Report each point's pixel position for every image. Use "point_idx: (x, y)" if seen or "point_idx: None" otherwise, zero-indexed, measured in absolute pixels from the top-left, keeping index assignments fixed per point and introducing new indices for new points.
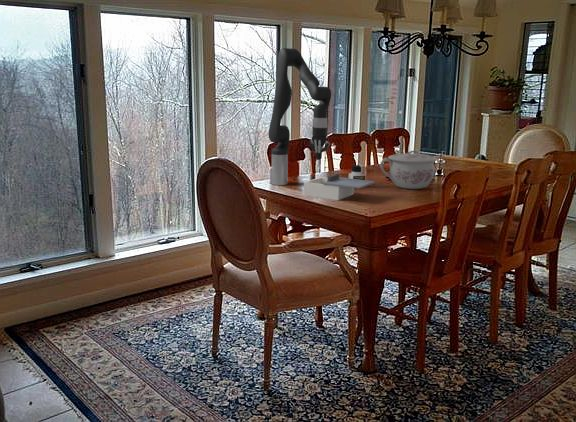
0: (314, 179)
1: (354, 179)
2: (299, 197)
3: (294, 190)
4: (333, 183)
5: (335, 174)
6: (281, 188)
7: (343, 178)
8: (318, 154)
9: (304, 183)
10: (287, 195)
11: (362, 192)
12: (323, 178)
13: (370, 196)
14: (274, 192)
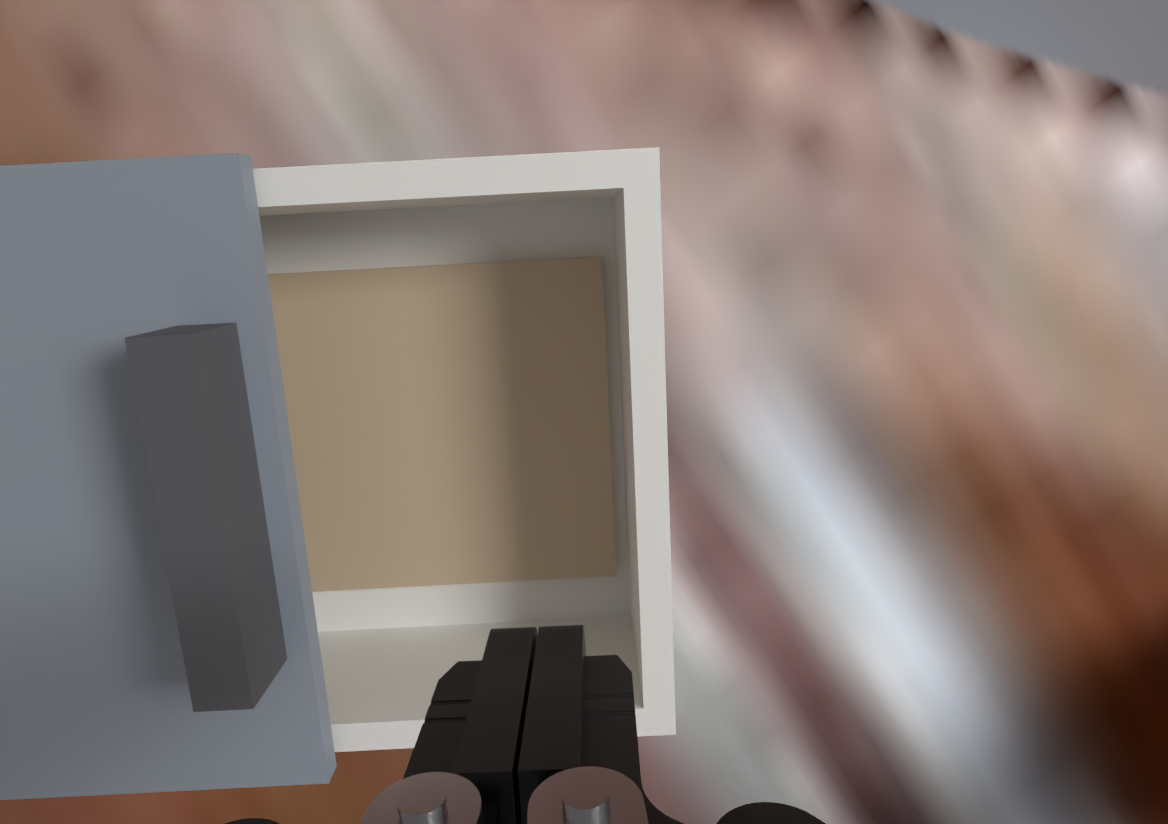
0: (653, 504)
1: (4, 756)
2: (619, 14)
3: (936, 395)
4: (12, 196)
5: (223, 632)
6: (1165, 401)
7: (198, 727)
8: (480, 732)
9: (644, 149)
10: (843, 25)
11: (152, 798)
12: None
13: None
14: (1120, 91)
